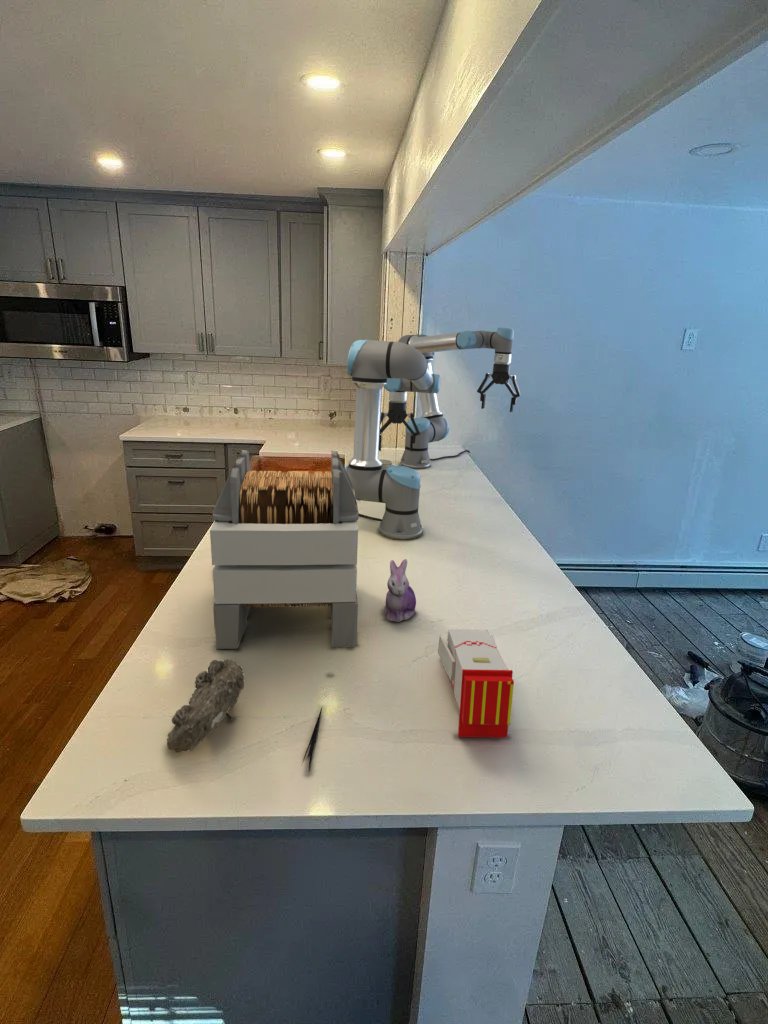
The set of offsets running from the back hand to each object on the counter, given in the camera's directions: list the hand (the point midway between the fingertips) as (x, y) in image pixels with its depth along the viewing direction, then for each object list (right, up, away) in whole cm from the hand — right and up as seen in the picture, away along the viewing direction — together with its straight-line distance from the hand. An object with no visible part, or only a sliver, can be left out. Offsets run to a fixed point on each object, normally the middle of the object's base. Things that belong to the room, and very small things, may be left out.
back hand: (496, 410), depth 265 cm
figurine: (-49, -74, -118) cm, 148 cm away
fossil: (-86, -87, -157) cm, 199 cm away
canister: (-54, -35, -10) cm, 65 cm away
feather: (-65, -88, -157) cm, 191 cm away
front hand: (-48, -21, -20) cm, 56 cm away
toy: (-35, -85, -147) cm, 173 cm away
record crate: (-77, -74, -120) cm, 160 cm away
